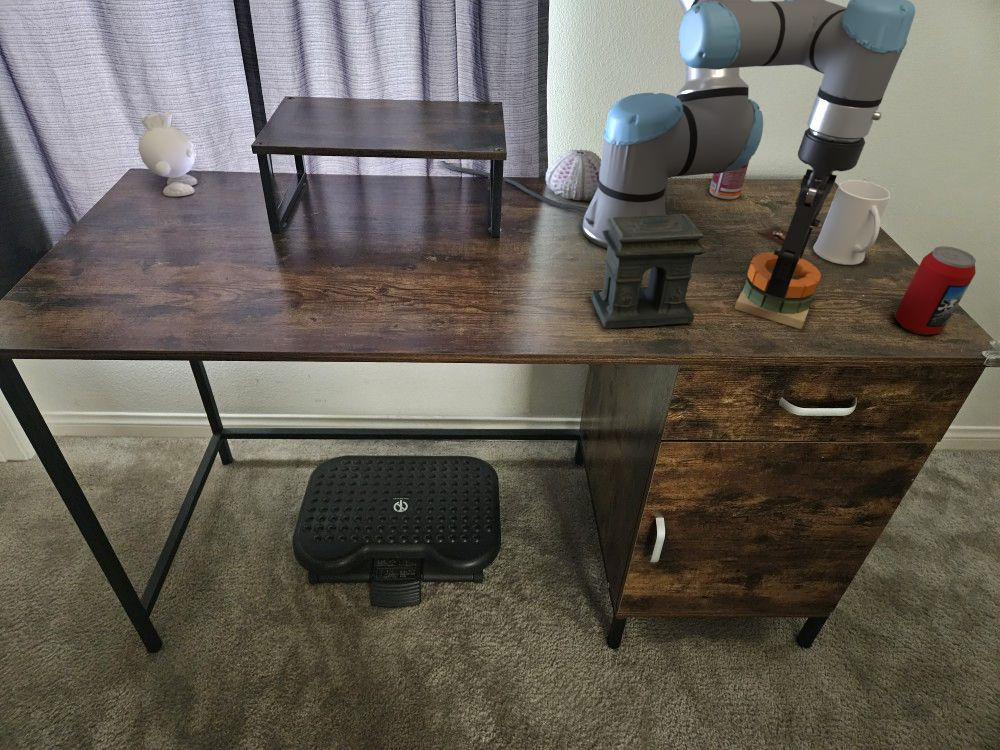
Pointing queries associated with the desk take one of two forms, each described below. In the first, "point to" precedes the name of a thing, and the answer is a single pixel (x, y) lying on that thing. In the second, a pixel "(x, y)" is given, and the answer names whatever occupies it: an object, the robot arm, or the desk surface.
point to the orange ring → (796, 287)
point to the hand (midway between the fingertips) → (782, 278)
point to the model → (634, 252)
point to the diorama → (776, 235)
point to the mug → (852, 222)
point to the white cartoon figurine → (168, 153)
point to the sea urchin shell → (575, 174)
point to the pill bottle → (728, 183)
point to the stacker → (774, 305)
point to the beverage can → (936, 290)
